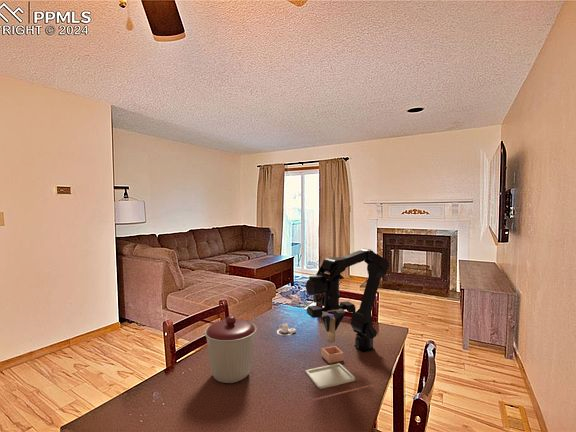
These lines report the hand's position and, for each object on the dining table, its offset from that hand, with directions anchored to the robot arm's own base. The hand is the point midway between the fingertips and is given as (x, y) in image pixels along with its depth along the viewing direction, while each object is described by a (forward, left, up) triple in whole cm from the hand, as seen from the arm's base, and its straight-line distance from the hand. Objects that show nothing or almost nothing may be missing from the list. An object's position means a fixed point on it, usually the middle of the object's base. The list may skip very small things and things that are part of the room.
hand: (331, 331), depth 121 cm
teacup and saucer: (+7, -28, -12) cm, 31 cm away
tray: (+6, +11, -11) cm, 17 cm away
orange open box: (-1, 0, -11) cm, 11 cm away
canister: (+38, -3, -12) cm, 40 cm away
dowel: (0, 0, -4) cm, 4 cm away
